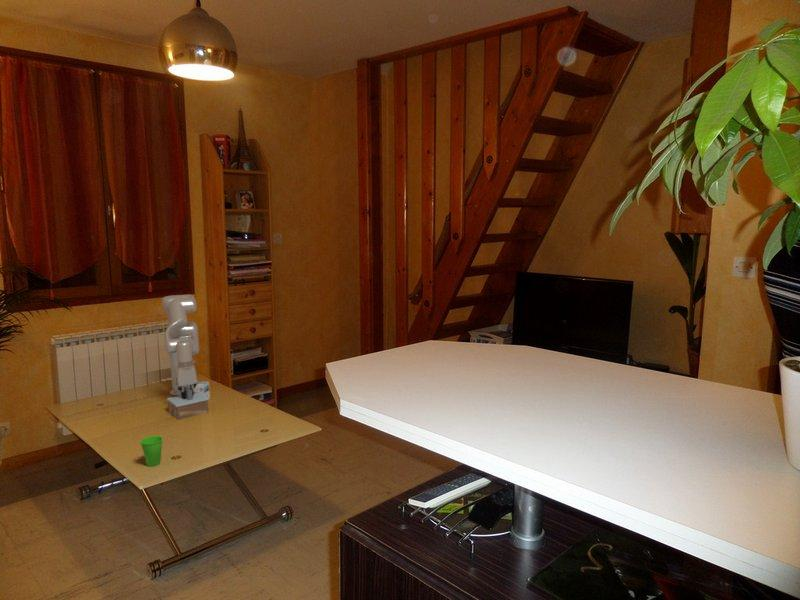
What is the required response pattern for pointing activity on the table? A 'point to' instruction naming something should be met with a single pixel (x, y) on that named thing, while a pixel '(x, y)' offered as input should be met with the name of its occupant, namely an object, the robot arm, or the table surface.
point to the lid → (187, 398)
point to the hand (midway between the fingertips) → (187, 397)
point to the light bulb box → (202, 388)
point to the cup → (152, 449)
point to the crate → (188, 409)
